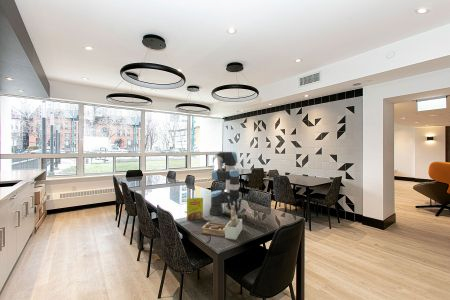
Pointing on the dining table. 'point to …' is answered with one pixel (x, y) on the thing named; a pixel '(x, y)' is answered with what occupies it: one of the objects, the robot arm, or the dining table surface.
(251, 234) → the dining table surface
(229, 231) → the tote
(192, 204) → the food package
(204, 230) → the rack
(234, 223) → the board
